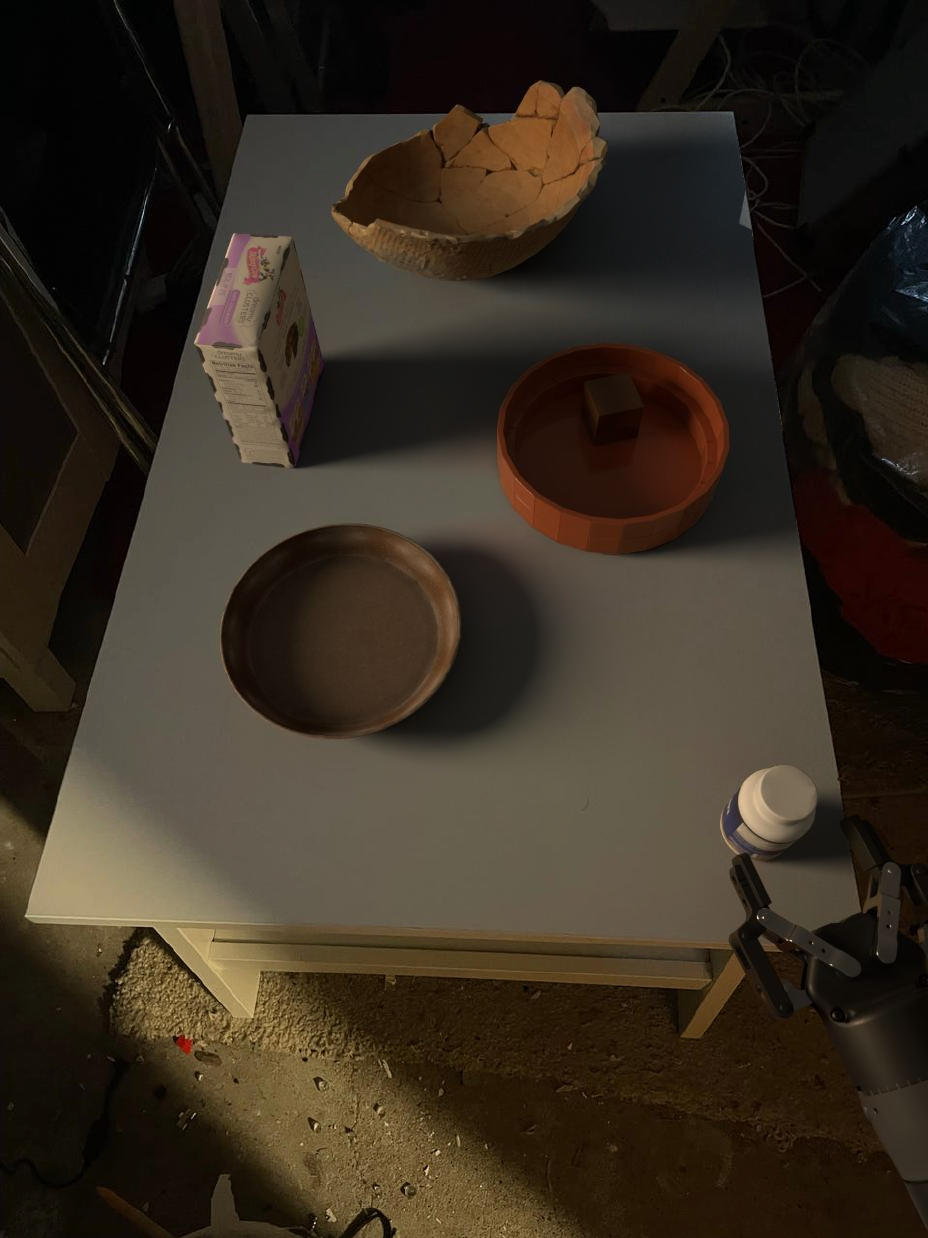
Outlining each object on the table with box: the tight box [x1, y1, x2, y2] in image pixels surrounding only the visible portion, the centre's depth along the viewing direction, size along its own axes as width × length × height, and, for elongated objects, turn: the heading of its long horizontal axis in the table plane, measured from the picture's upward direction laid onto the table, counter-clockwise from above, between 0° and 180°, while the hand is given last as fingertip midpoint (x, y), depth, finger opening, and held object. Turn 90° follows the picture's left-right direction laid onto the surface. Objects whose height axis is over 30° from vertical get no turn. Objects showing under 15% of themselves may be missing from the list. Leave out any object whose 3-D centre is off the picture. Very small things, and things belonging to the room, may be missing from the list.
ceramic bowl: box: [330, 79, 610, 282], centre depth 97 cm, size 30×27×15 cm
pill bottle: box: [719, 764, 819, 862], centre depth 66 cm, size 5×5×10 cm
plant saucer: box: [219, 522, 462, 740], centre depth 77 cm, size 21×21×3 cm
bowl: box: [496, 342, 731, 555], centre depth 85 cm, size 21×21×6 cm
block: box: [581, 372, 644, 446], centre depth 87 cm, size 4×4×4 cm
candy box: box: [193, 232, 325, 469], centre depth 84 cm, size 14×6×16 cm, turn 172°
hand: (793, 836), depth 63 cm, fingers open, 8 cm apart
